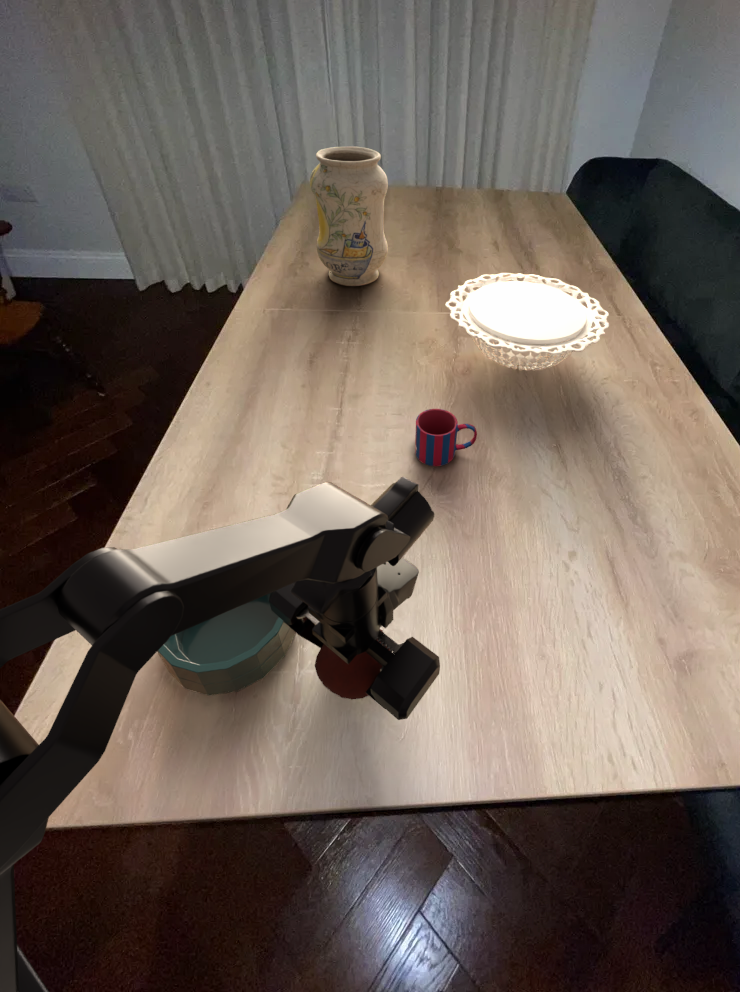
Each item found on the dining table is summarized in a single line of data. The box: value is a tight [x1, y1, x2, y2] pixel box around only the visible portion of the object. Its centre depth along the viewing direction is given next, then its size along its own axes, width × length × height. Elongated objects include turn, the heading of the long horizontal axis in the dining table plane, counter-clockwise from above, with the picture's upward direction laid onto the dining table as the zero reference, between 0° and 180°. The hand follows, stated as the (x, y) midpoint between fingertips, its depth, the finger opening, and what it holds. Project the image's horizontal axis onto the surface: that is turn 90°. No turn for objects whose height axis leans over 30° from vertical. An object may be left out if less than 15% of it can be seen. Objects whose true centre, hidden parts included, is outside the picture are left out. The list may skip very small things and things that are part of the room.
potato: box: [314, 628, 390, 701], centre depth 58 cm, size 7×8×7 cm
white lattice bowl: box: [444, 272, 610, 372], centre depth 107 cm, size 32×32×13 cm
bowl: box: [156, 592, 297, 696], centre depth 61 cm, size 15×15×6 cm
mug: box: [414, 408, 478, 467], centre depth 86 cm, size 7×10×7 cm
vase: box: [309, 145, 389, 287], centre depth 129 cm, size 18×18×30 cm
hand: (355, 669), depth 59 cm, fingers closed on potato, 8 cm apart
